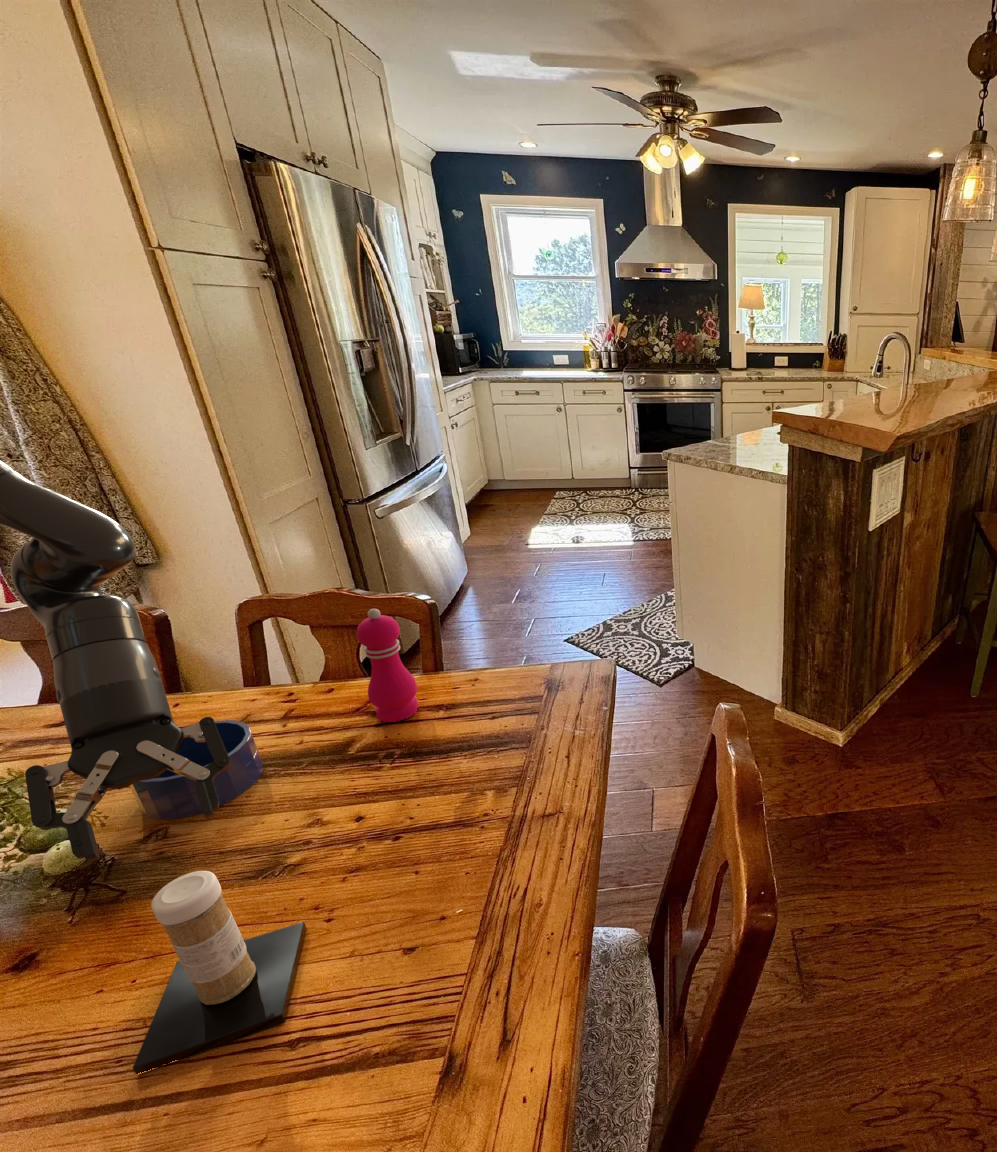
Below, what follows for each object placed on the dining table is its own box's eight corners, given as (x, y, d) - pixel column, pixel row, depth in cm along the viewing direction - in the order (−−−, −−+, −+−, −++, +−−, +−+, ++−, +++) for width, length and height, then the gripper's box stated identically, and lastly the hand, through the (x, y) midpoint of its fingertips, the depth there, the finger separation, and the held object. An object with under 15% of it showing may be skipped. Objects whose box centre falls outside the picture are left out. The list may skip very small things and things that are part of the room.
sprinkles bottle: (225, 961, 64) (180, 867, 59) (268, 963, 64) (228, 868, 59) (186, 1007, 60) (134, 909, 54) (232, 1008, 60) (185, 911, 54)
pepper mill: (393, 698, 110) (368, 598, 102) (430, 702, 109) (408, 601, 101) (364, 722, 103) (334, 617, 96) (403, 727, 102) (377, 621, 95)
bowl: (123, 831, 81) (104, 793, 78) (162, 768, 92) (147, 733, 89) (250, 801, 86) (236, 765, 84) (272, 745, 97) (260, 711, 95)
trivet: (136, 1076, 55) (131, 1068, 55) (180, 968, 64) (176, 960, 64) (285, 1022, 60) (282, 1014, 59) (307, 928, 69) (304, 921, 68)
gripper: (204, 680, 72) (244, 809, 70) (20, 726, 63) (58, 878, 60) (199, 659, 67) (242, 798, 64) (-4, 706, 57) (37, 872, 54)
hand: (153, 837), depth 62 cm, fingers open, 8 cm apart
